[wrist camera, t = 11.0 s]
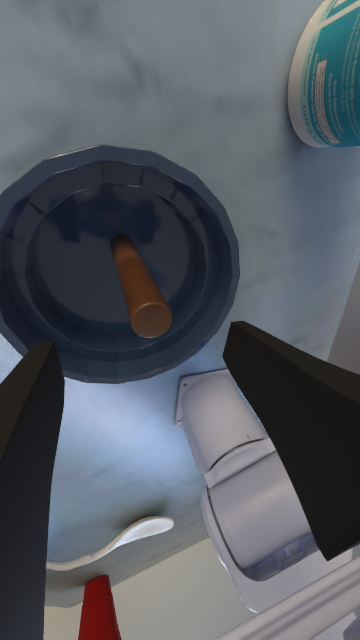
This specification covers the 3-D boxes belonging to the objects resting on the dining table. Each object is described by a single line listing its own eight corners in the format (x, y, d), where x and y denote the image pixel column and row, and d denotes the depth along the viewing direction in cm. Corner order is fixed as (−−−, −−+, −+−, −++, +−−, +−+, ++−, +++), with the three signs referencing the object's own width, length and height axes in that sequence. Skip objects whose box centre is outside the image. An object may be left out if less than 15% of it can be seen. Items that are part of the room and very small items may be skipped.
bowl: (199, 337, 25) (217, 366, 21) (35, 358, 20) (24, 400, 16) (228, 165, 16) (267, 166, 13) (-39, 131, 12) (-93, 119, 8)
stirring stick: (133, 256, 17) (171, 336, 9) (110, 256, 17) (131, 340, 9) (133, 234, 16) (175, 301, 9) (109, 233, 16) (131, 304, 8)
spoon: (-20, 563, 36) (-29, 595, 34) (174, 501, 47) (179, 522, 45) (-6, 579, 41) (-13, 608, 38) (168, 519, 52) (172, 538, 49)
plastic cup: (69, 595, 60) (65, 676, 51) (80, 579, 56) (78, 664, 47) (110, 581, 65) (114, 652, 56) (123, 566, 61) (130, 640, 52)
